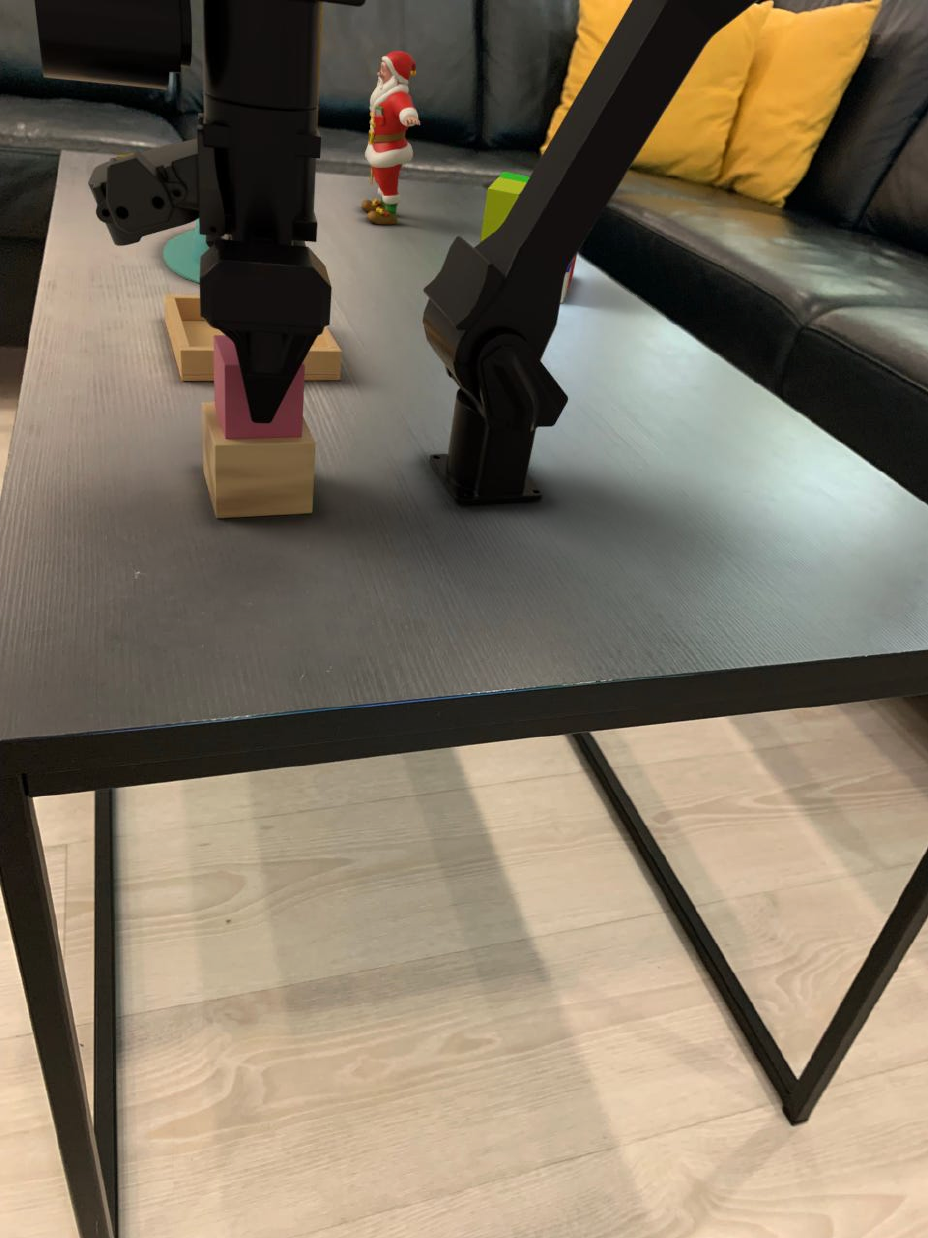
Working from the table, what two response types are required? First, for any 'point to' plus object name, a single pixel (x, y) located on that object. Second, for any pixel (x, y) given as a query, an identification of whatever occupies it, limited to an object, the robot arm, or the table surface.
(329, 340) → the tray
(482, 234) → the puzzle toy
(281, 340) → the robot arm
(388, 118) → the santa figurine
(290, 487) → the base block
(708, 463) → the table surface
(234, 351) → the rose block
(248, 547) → the table surface
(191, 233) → the teal cone with brim
